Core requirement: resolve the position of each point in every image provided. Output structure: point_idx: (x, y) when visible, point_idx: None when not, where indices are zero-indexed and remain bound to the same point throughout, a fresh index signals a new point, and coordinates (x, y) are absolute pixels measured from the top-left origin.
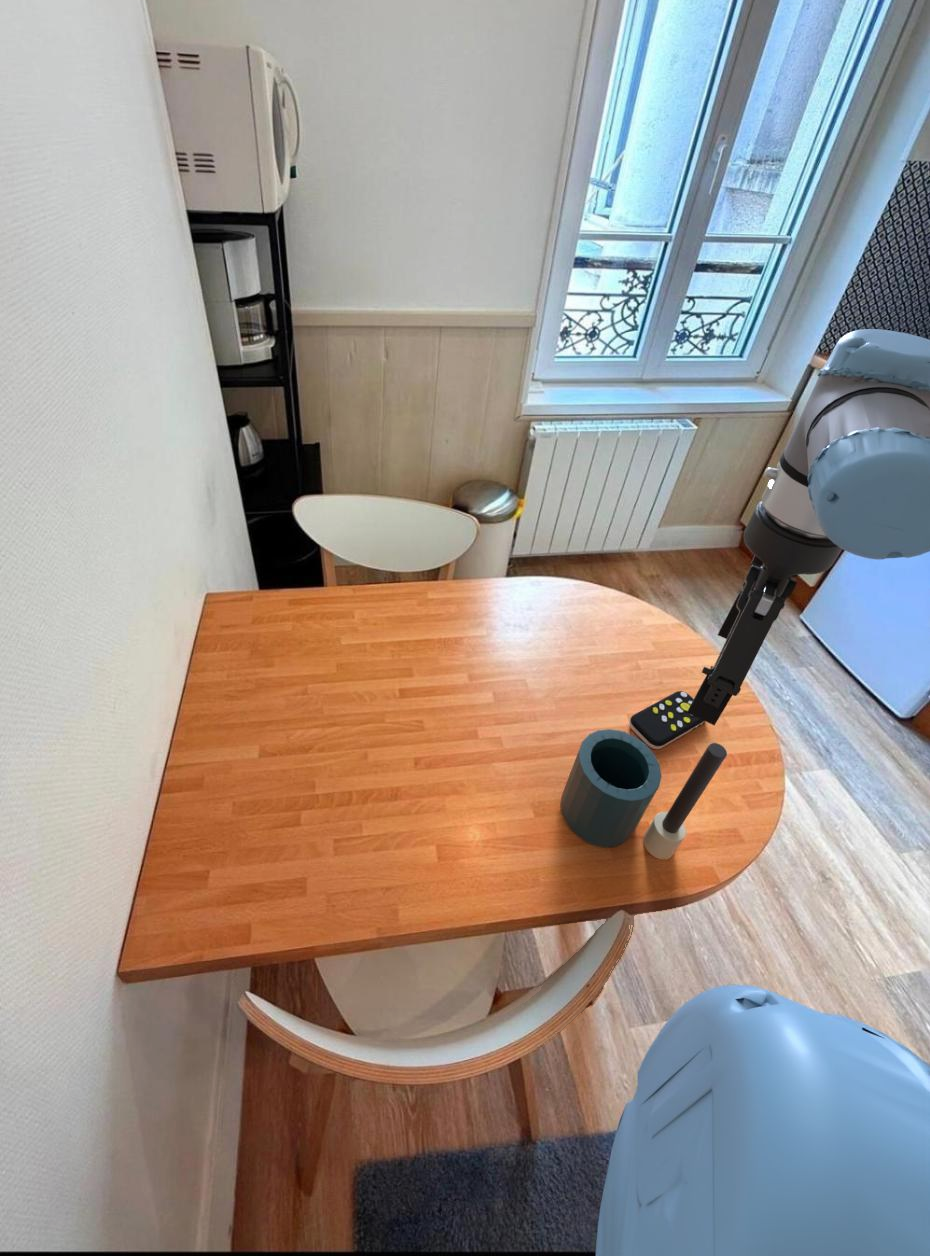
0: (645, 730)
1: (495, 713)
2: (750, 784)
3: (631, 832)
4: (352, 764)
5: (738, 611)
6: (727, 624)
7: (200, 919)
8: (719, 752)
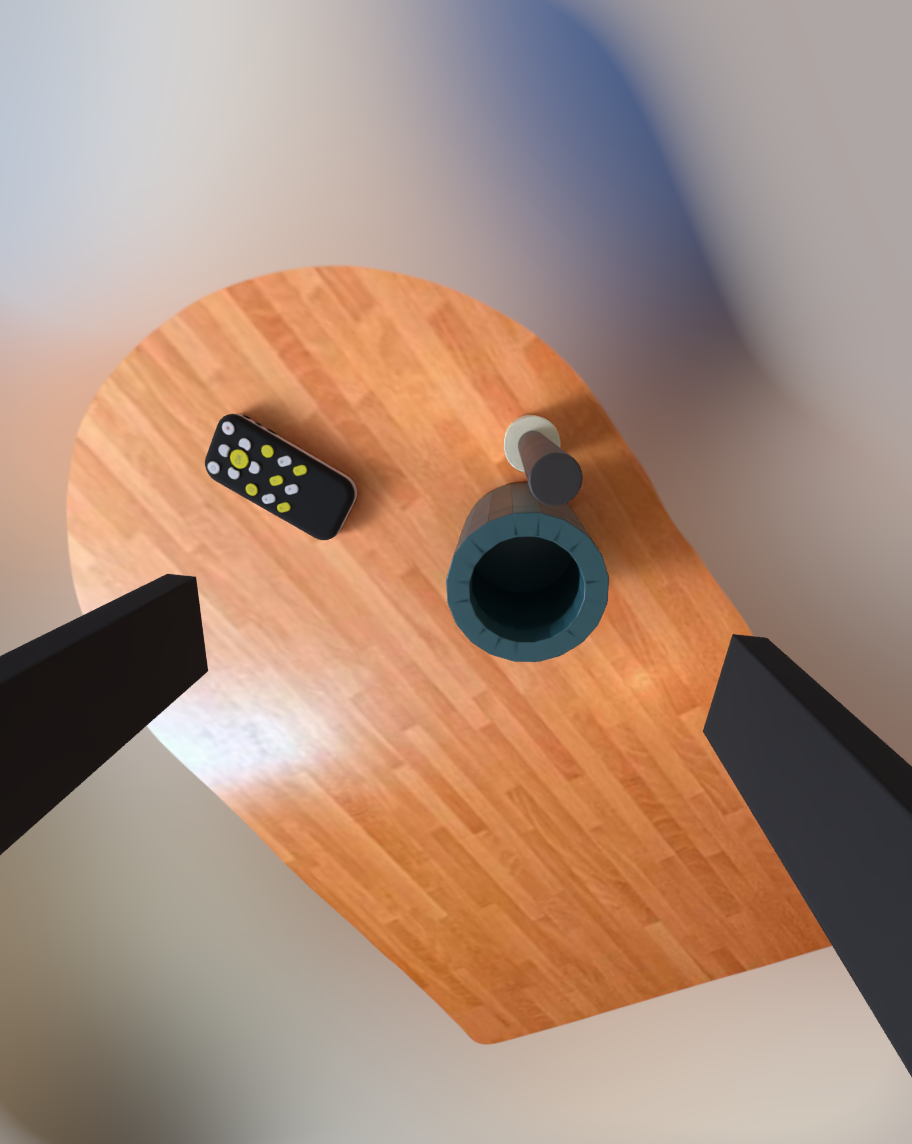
0: (337, 514)
1: (437, 716)
2: (322, 309)
3: None
4: (616, 836)
5: (56, 764)
6: (152, 703)
7: None
8: (561, 474)
